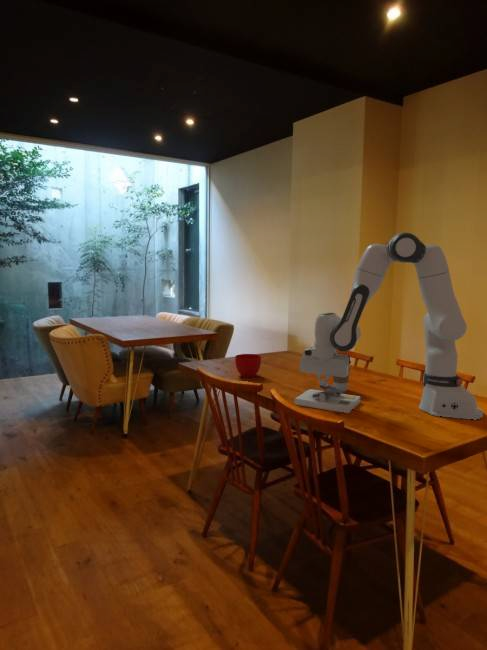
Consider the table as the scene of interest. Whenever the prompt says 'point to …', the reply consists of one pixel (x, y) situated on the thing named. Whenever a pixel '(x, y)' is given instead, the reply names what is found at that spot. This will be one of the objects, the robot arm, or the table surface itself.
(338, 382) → the coffee cup
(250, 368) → the ceramic cup
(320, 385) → the rocker back
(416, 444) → the table surface
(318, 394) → the rocker front
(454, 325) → the robot arm
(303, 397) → the switch unit
